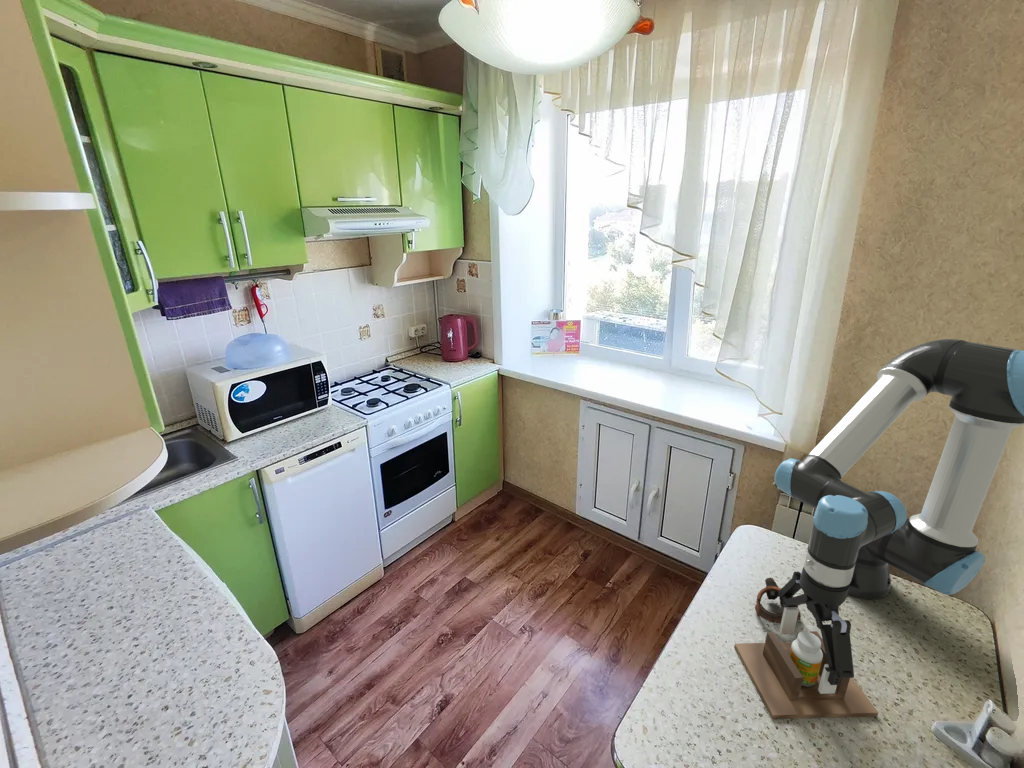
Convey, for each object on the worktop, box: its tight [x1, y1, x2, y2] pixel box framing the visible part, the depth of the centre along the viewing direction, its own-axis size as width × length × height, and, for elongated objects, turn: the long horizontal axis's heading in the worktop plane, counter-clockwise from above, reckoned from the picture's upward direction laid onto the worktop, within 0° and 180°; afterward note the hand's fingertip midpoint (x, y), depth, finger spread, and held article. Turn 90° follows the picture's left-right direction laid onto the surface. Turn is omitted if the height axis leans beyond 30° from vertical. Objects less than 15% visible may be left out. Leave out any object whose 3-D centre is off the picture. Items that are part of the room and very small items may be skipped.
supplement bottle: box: [789, 630, 823, 687], centre depth 96 cm, size 5×5×10 cm
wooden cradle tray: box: [733, 630, 879, 720], centre depth 97 cm, size 20×16×7 cm
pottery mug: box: [754, 577, 802, 624], centre depth 114 cm, size 12×9×8 cm
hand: (805, 660), depth 96 cm, fingers open, 13 cm apart
